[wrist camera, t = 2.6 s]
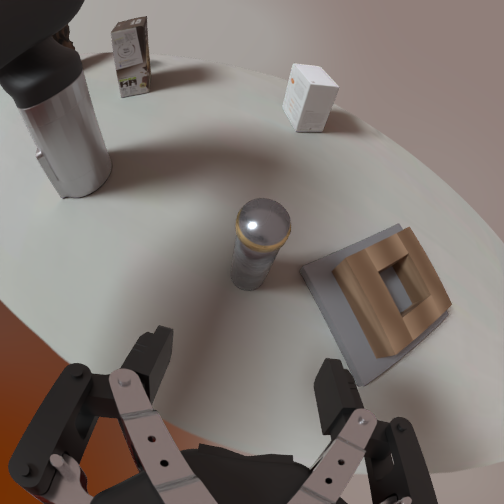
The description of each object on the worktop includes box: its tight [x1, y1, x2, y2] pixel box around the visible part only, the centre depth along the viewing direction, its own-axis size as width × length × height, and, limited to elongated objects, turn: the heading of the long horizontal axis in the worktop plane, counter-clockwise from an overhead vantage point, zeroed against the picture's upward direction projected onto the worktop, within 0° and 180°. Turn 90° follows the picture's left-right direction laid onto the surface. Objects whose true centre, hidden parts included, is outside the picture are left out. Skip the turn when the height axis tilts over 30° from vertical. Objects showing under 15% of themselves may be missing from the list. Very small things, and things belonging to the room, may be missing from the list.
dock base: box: [300, 224, 449, 386], centre depth 32 cm, size 18×16×2 cm
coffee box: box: [111, 16, 151, 97], centre depth 40 cm, size 9×6×16 cm
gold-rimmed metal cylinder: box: [231, 198, 291, 291], centre depth 26 cm, size 4×4×12 cm
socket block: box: [331, 227, 452, 359], centre depth 29 cm, size 12×12×4 cm
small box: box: [282, 64, 339, 132], centre depth 42 cm, size 8×6×10 cm
